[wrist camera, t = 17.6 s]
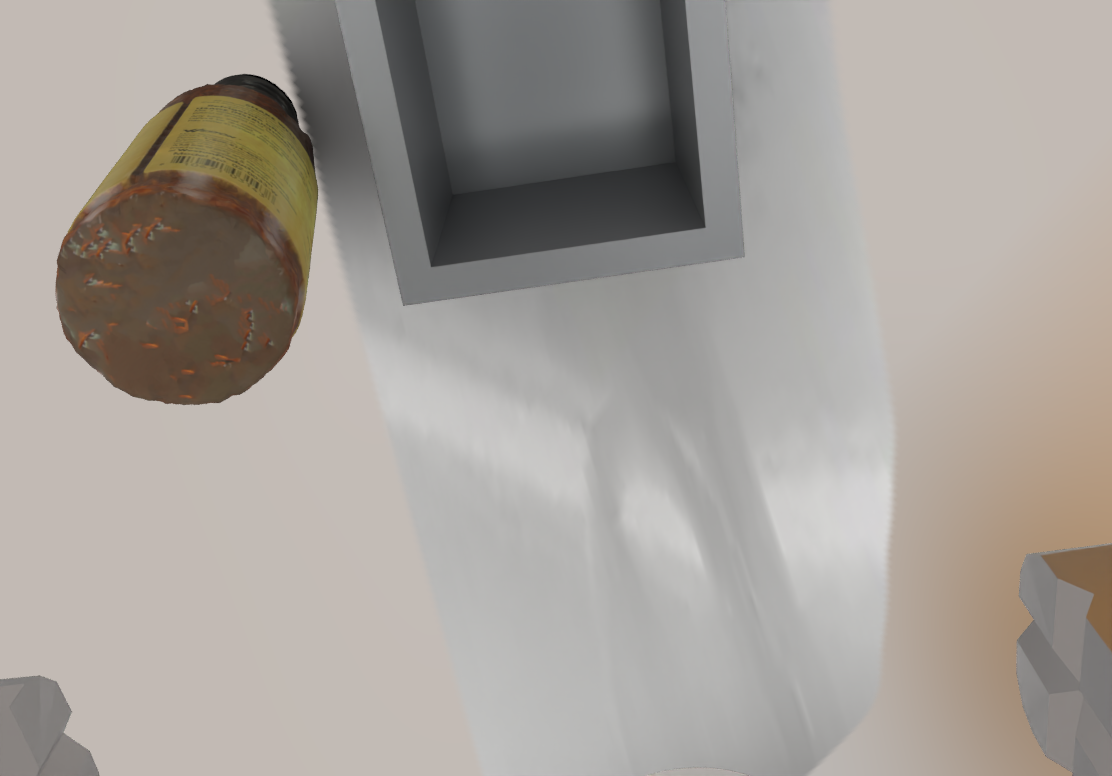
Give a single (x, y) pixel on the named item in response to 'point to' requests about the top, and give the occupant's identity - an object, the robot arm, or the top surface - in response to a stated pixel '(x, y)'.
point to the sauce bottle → (195, 247)
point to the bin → (545, 138)
